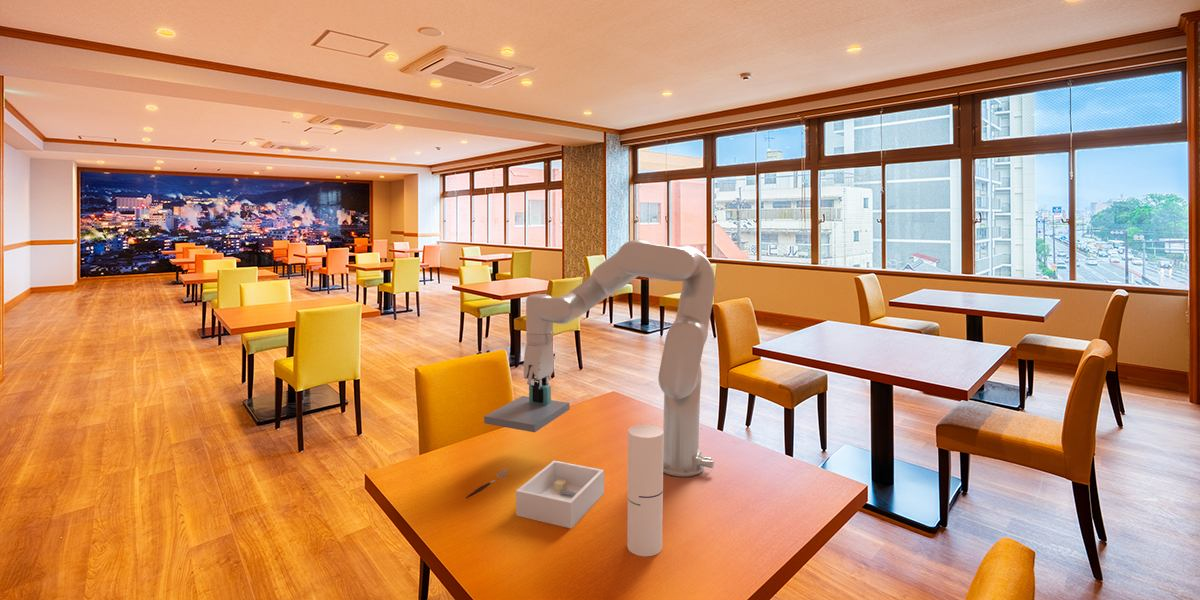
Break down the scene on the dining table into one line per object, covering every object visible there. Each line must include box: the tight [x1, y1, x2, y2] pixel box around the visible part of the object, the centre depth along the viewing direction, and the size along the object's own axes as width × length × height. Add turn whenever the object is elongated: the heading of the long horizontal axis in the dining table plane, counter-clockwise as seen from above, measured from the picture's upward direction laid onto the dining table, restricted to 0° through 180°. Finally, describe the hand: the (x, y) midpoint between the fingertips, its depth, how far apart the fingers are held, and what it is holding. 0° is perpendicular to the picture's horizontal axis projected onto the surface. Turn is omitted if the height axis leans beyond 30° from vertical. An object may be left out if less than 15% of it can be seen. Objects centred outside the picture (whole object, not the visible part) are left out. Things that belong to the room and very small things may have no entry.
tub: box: [515, 460, 605, 530], centre depth 138 cm, size 14×18×6 cm
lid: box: [483, 385, 570, 433], centre depth 161 cm, size 16×20×7 cm
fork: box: [465, 466, 510, 499], centre depth 148 cm, size 3×16×2 cm, turn 152°
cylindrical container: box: [626, 424, 664, 557], centre depth 118 cm, size 7×7×25 cm
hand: (540, 400), depth 167 cm, fingers closed on lid
